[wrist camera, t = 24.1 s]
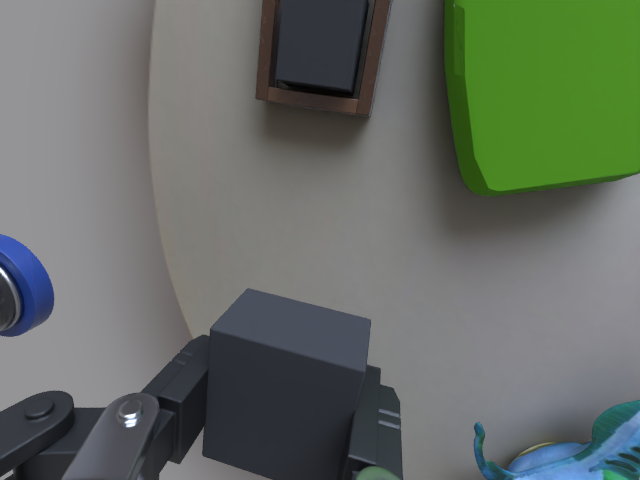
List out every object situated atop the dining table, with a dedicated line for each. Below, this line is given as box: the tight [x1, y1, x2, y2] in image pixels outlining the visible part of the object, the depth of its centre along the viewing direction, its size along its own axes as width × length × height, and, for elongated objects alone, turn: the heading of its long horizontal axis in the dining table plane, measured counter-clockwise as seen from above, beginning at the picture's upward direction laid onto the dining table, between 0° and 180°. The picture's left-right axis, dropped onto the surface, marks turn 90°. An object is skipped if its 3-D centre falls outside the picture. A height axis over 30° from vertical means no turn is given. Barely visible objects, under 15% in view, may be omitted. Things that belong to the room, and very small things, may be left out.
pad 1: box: [276, 0, 369, 95], centre depth 19 cm, size 4×5×3 cm
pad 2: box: [202, 289, 371, 480], centre depth 11 cm, size 4×5×3 cm
